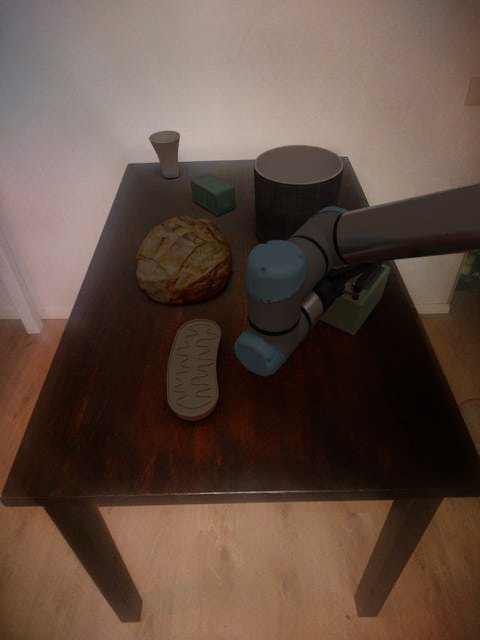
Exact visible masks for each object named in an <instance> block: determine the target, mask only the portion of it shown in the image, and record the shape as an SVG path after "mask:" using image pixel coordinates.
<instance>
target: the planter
mask: <svg viewBox="0 0 480 640" xmlns="http://www.w3.org/2000/svg"><path fill="white" fill-rule="evenodd" d="M344 163H345V162H344V160H343V159H342V158H341V156H340V155H339V154H337V153H336V152H334V151H332V150H330V149H327V148H324V147H320V146H315V145H307V144H291V145H290V144H289V145H283V146H277V147H273V148H271V149H268V150H265V151H263V152H262V153H261V154H259V155H258V156H257V157H256V158H255V159H254V162H253V182H254V183H253V185H254V186H253V187H254V188H253V189H254V216H255V217H254V219H255V236H256V238H257V240H258V241H259V242H260V244H267V243H268V241H272V240H283V241H287V240H288V239H289V238H290V237H291V236H292V235H293V234H294V233H295V232H297V231H298V230H299V229H300V228H301V227H302V226H303V225H304V224H305V223H306V222H307V220H308V219H309V218H311V217H312V216H313V215H314V214H316V213H318V212H319V211H321V210H322V209H324V208H326V207H330V206H336V207H338V204H339V198H340V192H341V186H342V181H343V180H342V178H343V173H344V168H345V167H344V166H345V164H344Z"/></svg>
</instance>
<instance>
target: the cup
mask: <svg viewBox="0 0 480 640" xmlns="http://www.w3.org/2000/svg"><path fill="white" fill-rule="evenodd" d="M180 139H181V134H180V132H178V131H175V130H161V131H160V130H159V131H157V132H154V133H152V134H151V135H150V136H149V137H148V140H149V142H150V144H151V146H152V148H153V150H154V151H155V154H156V155H157V158H158V161H159V163H160V168H161V173H162V172H163V173H165V174H173V173H176V172H178V171H179V170H180V167H179V147H180Z"/></svg>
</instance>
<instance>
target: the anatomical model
mask: <svg viewBox="0 0 480 640" xmlns="http://www.w3.org/2000/svg"><path fill="white" fill-rule="evenodd" d="M221 339H222V330H221V328H220V326H219V324H217V323H216V322H215V321H213V320H210V319H208V318H195V319H191V320H189V321H187V322H185V323H183V324H182V325H181V326H180V327H179V329H178V330H177V332H176V334H175V337H174V340H173V343H172V346H171V349H170V353H169V356H168V361H167V369H166V399H167V403H168V406H169V407H170V409H171V411H172V412H173V413H174V415H176V416H177V417H178V418H180V419H182V420H184V421H188V422H197V421H201V420H203V419H205V418H207V417H208V416H210V415H211V414H212V413H213V412H214V410H215V409H216V408H217V404H218V402H219V397H220V392H219V383H218V378H217V377H218V376H217V359H218V353H219V349H220V344H221V341H222V340H221Z"/></svg>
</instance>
